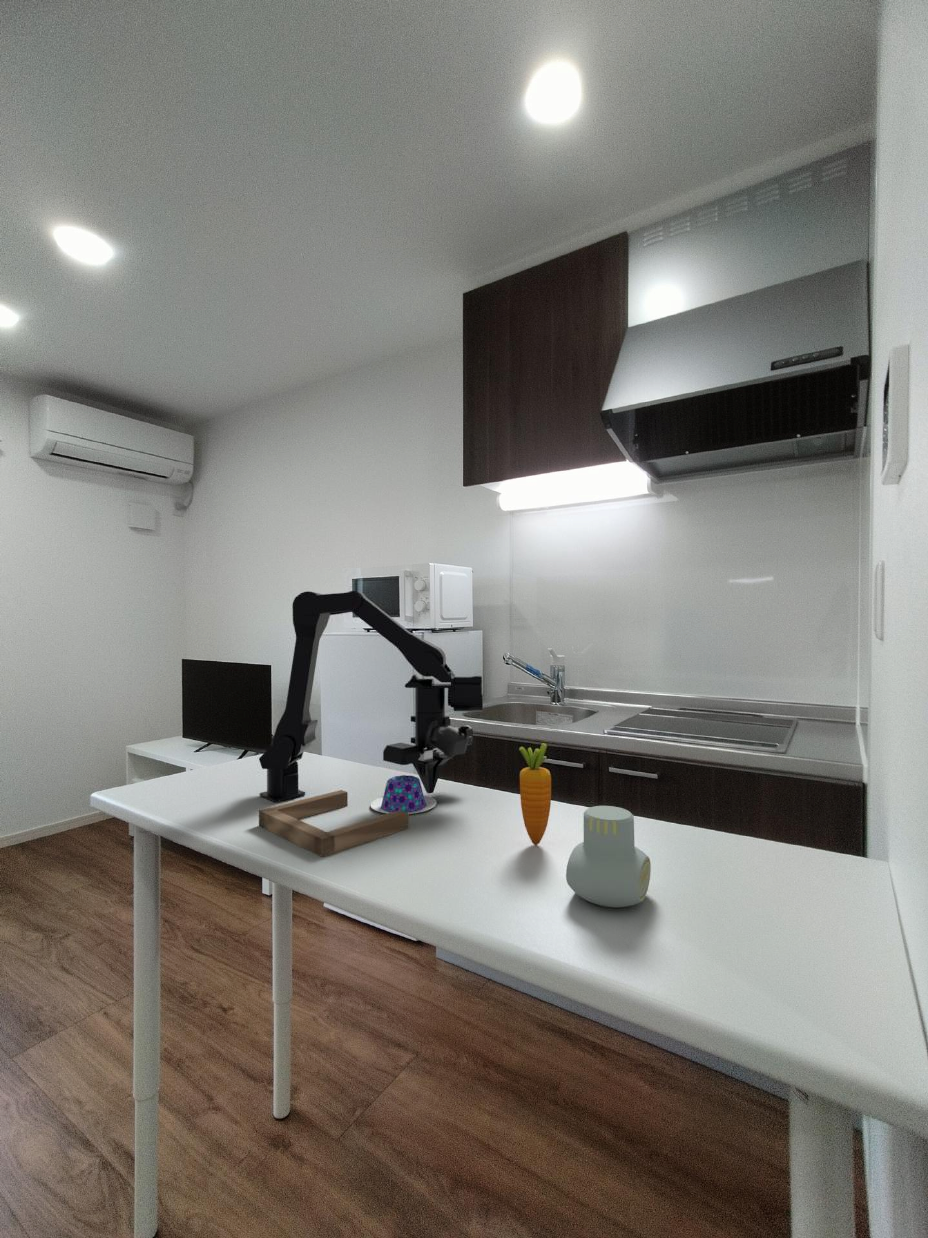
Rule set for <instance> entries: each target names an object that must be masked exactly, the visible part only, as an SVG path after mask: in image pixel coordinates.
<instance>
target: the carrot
mask: <svg viewBox="0 0 928 1238" xmlns="http://www.w3.org/2000/svg"><path fill="white" fill-rule="evenodd" d="M547 748H548V745H547V744H546V743H543V742H542V743H541V745H540V747H539V748H535V749H534V752H533V750H532V747H528V748H527V749H526V748H525V747H523V746H520V747H519V749H518V750H519V751H520V753H521V754H522V756H523V758H524V759H525V762H526V764H527V766H528V767H524V768H522V769H521V770H520V771H519V796H520V806H521V813H522V819H523V824H524V827H525V830H526V832H527V836H528V838H529V839H530V842H531V843H532V844H533V845H534V846H538V845H539V844H540V843H541V841H542V839H543V837H544V835H545V833H546V830H547V828H548V823H549V817H550V811H551V802H552V801H551V799H552V775H551V773H550V770H549V769H547V768H545V767H541V765H542V764H543V763H544V761H545V760H546V759H547V756H545V754H546V751H547Z"/></svg>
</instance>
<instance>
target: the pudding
mask: <svg viewBox="0 0 928 1238" xmlns="http://www.w3.org/2000/svg"><path fill="white" fill-rule="evenodd" d="M436 805H437V800H436V799H435V798H433V797H432V796H428V795H424V791H423V787H422V782H421V779H420V777H417V776H414V775H406V774H403V775H395V776H392V777H389V779H388V780H387V781H386V784H385V787H384V793H383V796H381V797H378V798H376V799H374V800H372V802H371V803H370V808H371V809H372V810H374V811H376V812H379V813H382V814H388V813H391V812H395V811H398V810H403V811H406V812H409V815H411V814H412V815H413V814H419V813H423V812H426V811H429V810H430V809H433V808H435V807H436Z"/></svg>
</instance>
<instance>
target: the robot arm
mask: <svg viewBox="0 0 928 1238" xmlns="http://www.w3.org/2000/svg"><path fill="white" fill-rule="evenodd" d="M291 606H292V625H293V628H294V634H295V643H294V650H293V656H292V663H291V669H290V670H291V671H290V676H289V683H288V688H287V696H286V703H285V709H284V711H283V713H282V715H281V718H280V719H279V721H278V723H277V725H276V727H275V732H274V734H273V737H272V740H271V746H270V747H268V748H267V750H266V751H264V753H263V754H261V756H260V757H258V760H259V763H260V766H261V768H262V770H266V791H262V792H259V796H260V797H261V798H264V799H267V800H269V801H271V802H273V803H274V802H275V803H276V802H283V801H286V800H289V799H293V798H297V797H298V798H299V797H303V796H306V792H305V791H303V790H301V789H299V763H298V761H299V760H302V758H303V755H304V752H305V751H308V749H309V748H310V747H311V745H312V743H313V742H314V741H315V740H316V739H317V738H316V737H317V736H316V728H317V726H318V721H319V720H318V719H311V718H312V717H311V714H310V705H311V700H312V693H313V686H314V685H313V684H314V680H315V670H316V665H317V658H318V654H319V653H318V652H319V645H320V640H321V638H322V635H323V634H324V632H325V630H326V628H327V626H328V623H329V620H330V617H331V616H333V615H334V616H335V615H343V614H348V613H353V614H354V615H355V616H356V617H358V619H360V620H361V621H363V622H364V623H365V624H367V625H368V626H369V627H370V628H372V629H373V630H375V632H377V633H378V634H379V635H381V637H383V638H385V639H386V641H388V642H389V643H390V644H392V645H393V646H394V647H396V648H397V649H398V650H399V653H401V654H402V656H403V657H404V658H405V660H406V661H407V662H408V663H409V664H410V665H411V666H412V668H413V669H414V670H415V671H416V672H417V673H418V674H419V675H421V676H423V677H425V678H419V677H418V676H417V674H413V675H412V676H411V678H410V679H409V680H408V682H407V683H405V684H404V688H406V689H414V690H415V691H414V693H415V694H414V701H415V702H414V703H415V704H414V707H415V708H414V709H415V710H414V715H411V716H410V722H412V723H414V736H413V737H410V744H409V743H403V742H397V743H391V744H386V746H385V747H384V748H383V751H382V760H383V761H384V762H387V763H391V764H392V763H393V764H396V765H400V766H407V765H411V764H412V765H413V767H414V769H415V770H416V772H417V774H418V778H419V780H420V782H421V785H423V788H424V790H425V793H426V794H428V795H429V794H433V793H434V791H435V788H436V785H437V783H438V779H439V776H440V774H441V771H442V768H443V766H444V765H445V764H446V763H447V762H448V761H450V760H451V759H453V757H455V756H458V755H465V754H466V752H468V751H469V752H470V751H473V749H474V744H473V743H474V742H473V739H474V730H473V729H474V728H473V727H471V726H470V725H461V726H459V727H453V726H452V725H451V718H450V716H448V715H447V716H446V711H445V710H446V689H447V706H448V707H450V708H453V712H476V713H477V712H484V691H483V676H482V675H472V676H456V675H455V673H454V671H453V670H451V668H450V667H449V666H448V664H447V663H446V662H447V657H446V654H445V652H444V650H443V649H442V648H441V647H439V646H437V645H435V644H434V643H432V642H429V641H428V640H426V639H424V638H422V637H419V636H418V635H416V634H414V633H412V632H410V631H409V630H408V628H405V627H404V626H403V625H402V624H400V622H398V621H397V620H395V619H394V618H393V617H392V616H390V615H389V614H387V613H386V612H385V611H384V610H382V609H381V608H380V607H379V606H377V605H376V604H375V603H374V602H373V601H371V600H370V599H369V598H368V597H367V596H366V594H365V593H363V592H360V591H358V590H357V591H356V590H350V591H347V592H339V593H338V592H337V593H326V594H323V593H319V592H314V591H309V590H308V591H303V592H301V593H299V594H298V595H296V596H295V598H294V599H293V601H292V605H291ZM428 677H433V678H428ZM434 679H436V680H438V682H440V683H435V680H434Z"/></svg>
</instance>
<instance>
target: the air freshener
mask: <svg viewBox="0 0 928 1238" xmlns="http://www.w3.org/2000/svg"><path fill="white" fill-rule="evenodd" d="M651 865H652V864H651V859H650V857H649V856H648V855H647V854H646V853H645V852H644V851H643V850H641V849H640V848H638V847H637V846H635V817H634V814H632V812H631V811H629V810H628V809H625V808H623V807H617V806H612V805H596V806H590V807H588V808H587V809H585V810H584V812H583V841H582V842H581V843H578V844H577V845H575V847H574V848H573V849H572V851H571V853H570V855H569V857H568V862H567V865H566V871H565V878H566V879H565V880H566V883H567V885H568V887H569V888H570V889H571V890H572V891H573V892H574V893H575V894H576V895H578V896H579V897H580V898H582V899H584V900H586V901H587V902H590V903H592V904H594V905H597V906H601V907H606V908H614V909H617V908H626V907H630V906H631V907H632V906H635V905H637V904H640V903H642V902H643V901H644V900H645V898H646V895H647V893H648V890H649V887H650V880H651V868H652V867H651Z"/></svg>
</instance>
